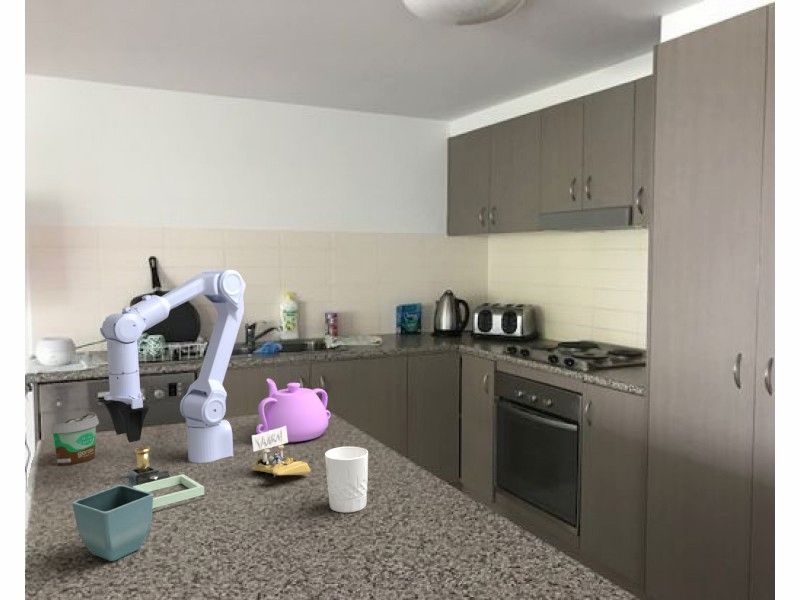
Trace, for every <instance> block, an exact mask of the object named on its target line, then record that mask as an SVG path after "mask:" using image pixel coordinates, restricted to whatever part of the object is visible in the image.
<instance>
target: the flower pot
mask: <svg viewBox="0 0 800 600" xmlns="http://www.w3.org/2000/svg"><path fill="white" fill-rule="evenodd" d="M153 497H155V495H154V493H153V492H151V491H149V492H145V491H142V490H138V489H134V488H131V487H130V486H129V485H123V484H119V485H115V486H111V487H110V488H107V489H104V490H101V491H100V492H96V493H93V494H90V495H88V496H85V497H82V498H80V499H76V500H73V501H72V502H71V504H72V509H73V515H74V519H75V522H76V528H77V530H78V534H79V536H80V539H81V540H82V542H83V544H84V545H85V546H86V548H87V549H88V551H90V552H91V554H92V555H94V556H97V557H100V558H101V559H104V560H107V561H110V562H114V561H117V560H119V559H121V558H123V557H125V556H127V555H129V554H132V553H134V552H136V551H138V550H139V549H140V548H141V547H142V545H144V544H143V543H144V542H145V541H146V538H147V536H148V534H149V532H150V529H151V525H152V519H153V514H152V512H153V509H154V508H153Z"/></svg>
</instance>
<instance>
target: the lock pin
mask: <svg viewBox="0 0 800 600" xmlns="http://www.w3.org/2000/svg"><path fill="white" fill-rule="evenodd" d="M150 452H151V447H150V446H139V447H137V448H135V449H134V453H135V454H136V455H135V456H136V468H137V474H140V473H144V472H148V471H150V468H149V465H150Z"/></svg>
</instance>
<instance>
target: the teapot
mask: <svg viewBox="0 0 800 600" xmlns="http://www.w3.org/2000/svg"><path fill="white" fill-rule="evenodd" d="M266 382H267V386H268V397H266V398H264V399H262V400H261V401H260V402H259V403H258V406H257V407H258V408H257V410H258V411H257V412H258V415H259V419H260V423H258V424H257V425H256V428H255V432H256V434H260V433H264V432H267V431H269V430H274V429H278V428H281V427H284V426H286V429H287V438H288V443H290V444H293V443H298V442H303V441H309V440H314V439H316V438H319V437H320V436H322V435H323V433H324V432H325V431H326V430H327V429H328V427H329V420H330V418H331V416H332V415H331V412H330V410H328V409H327V406H328V398H329V397H328V393H327V392H326V390H324V389H323V388H314V389H311V388H305V387H301V383H299V382H290V383H287V384H286V387H287V388H283V389H279V390H278V388H277V384H276V383H275V381H274V380H273V379H271V378H266ZM317 394H321V399H320V398H319V395H317ZM288 443H287V444H288Z"/></svg>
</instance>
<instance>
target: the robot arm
mask: <svg viewBox="0 0 800 600" xmlns="http://www.w3.org/2000/svg"><path fill="white" fill-rule="evenodd" d="M246 286H247V284H246V283H245V281H244V279H243V277H242V275H241V274H240V273H239V272H238V271H236V270H234V269H227V270H213V269H207V270H204V271H203V272H202V273H198V274H195V275H194V276H193V277H191V278H190V279H188V280H186V281H185V282H183V283H182V284H180V285H178V286H177V287H175V288H173V289H171V290H170V291H168V292H166V293H165V294H163V295H162V296H159V295H156V294H152V295H150V294H145V295H144V296H141V299H142V300H141V301H139V302H137V303H135V304H133V305H131V306H130V307H129V306H125V307H123V308H122V309H121V310H122V312H121V313H111V314H109V315H108V316H106V317H105V320H103V322H102V324H101V325H102V326H101V327H100V328H99V331H100V334H101V336H102V337H103V339H105V341H106V347H107V349H106V351H107V352H106V353H107V354H106V355H107V365H108V367H107V368H108V379H109V380H108V382H109V383H108V384H109V394H106V395H103V399H104V400H105V402H103V405H104V407H105V408H106V410H107V411H108V413H109V415H110V417H111V421H112V425H113V428H114V430H115V433H116V435H117V436H119V435H124V434H125V435H126V439H127V441H128V443H133V442H139V441H141V437H142V432H143V431H142V430H143V426H144V423H145V419H146V417H147V414H148V413H149V411H150V406H148V405H146V404H145V405H144V404H143V402H144V401H143V397H142V391H141V383H140V381H141V379H140V367H139V365H140V364H139V351H138V340H139V339H140V338H141V336H142V334H143V332H145V331H147V330H149V329H150V328H152V327H154V326H155V325H157V324H159V323H161V322H163V321H164V320H166V319H167V318H168V317H169V314H170V311H171V310H172V309H175V308H177V307H179V306H180V305H182V304H184V303H187V302H188V301H190V300H192V299H194V298H196V297H198V296H200V295H203V297H205V299H207V301H209V302H210V303H211V304H212V305H213V307H214V308H215V310H216V311H217V313H218V314H217V317H216V320H215V323H214V327H213V330H212V334H211V337H210V340H209V343H208V346H207V348H206V353H205V356H204V359H203V362H202V365H201V368H200V372H199V375H198V378H197V379H196V380H195V381H194V382H192V383H191V384H190V385H189V388H188V390H187V392H186V393H185V395H184V396H183V397H182V399H181V400H180V404H179V410H180V414H181V415H182V416H183V418H185V423H186V434H187V457H188V461H189V462H190V463H194V464H196V463H197V464H203V463H210V462H215V461H218V460H222V459H224V458H229V457H234V443H233V429H232V425H231V424H230V422H229V421H228V420H227V419H223V418H224V416H225V415H226V412H227V406H226V400H227V396H228V393H227V391H226V389H225V388H224V385H223V382H224V380H225V376H226V374H227V373H226V372H227V371H228V370H227V369H228V366H229V363H230V360H231V356H232V353H233V350H234V346H235V344H236V340H237V337H238V332H239V330H240V326H241V323H242V319H243V317H244V312H245V304H244V303H245V302H244V293H245V290H246Z"/></svg>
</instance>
